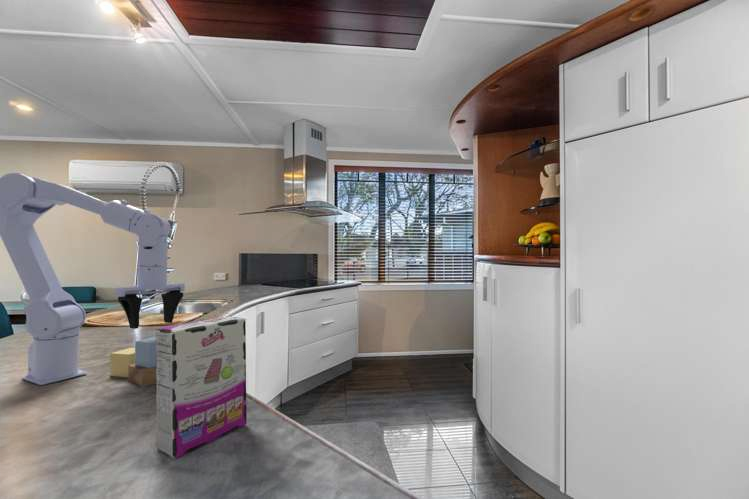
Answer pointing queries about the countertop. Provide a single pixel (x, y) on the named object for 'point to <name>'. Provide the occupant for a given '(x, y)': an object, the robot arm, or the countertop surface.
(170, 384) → the candy bar box
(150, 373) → the walnut block
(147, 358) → the blue cube
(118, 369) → the mustard cube
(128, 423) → the countertop surface
